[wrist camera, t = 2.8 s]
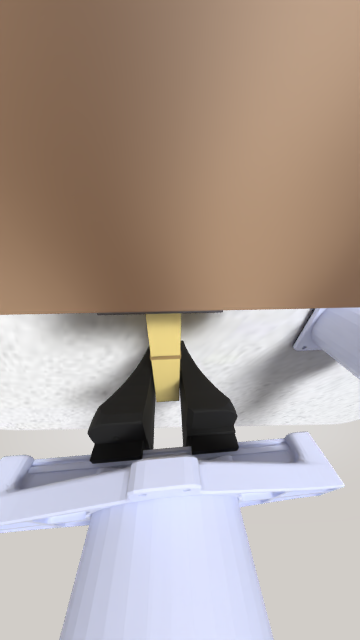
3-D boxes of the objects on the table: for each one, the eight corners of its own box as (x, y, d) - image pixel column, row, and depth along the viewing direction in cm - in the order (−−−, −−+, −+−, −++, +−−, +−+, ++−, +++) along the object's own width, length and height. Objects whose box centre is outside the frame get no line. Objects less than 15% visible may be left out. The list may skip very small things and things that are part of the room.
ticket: (176, 149, 8) (191, 32, 3) (175, 347, 15) (179, 400, 11) (143, 147, 7) (105, 22, 3) (159, 348, 15) (156, 402, 10)
